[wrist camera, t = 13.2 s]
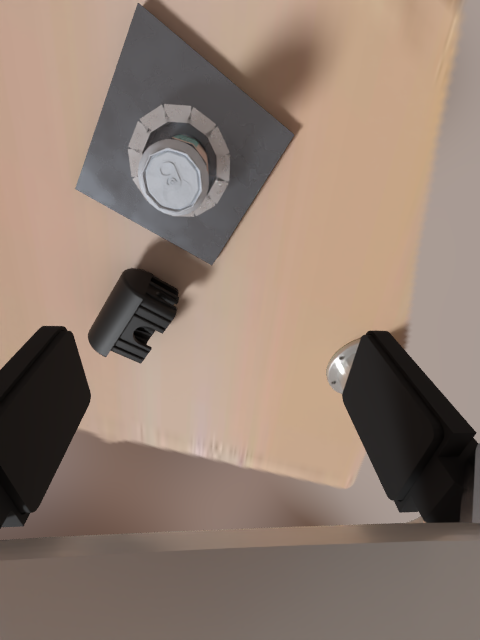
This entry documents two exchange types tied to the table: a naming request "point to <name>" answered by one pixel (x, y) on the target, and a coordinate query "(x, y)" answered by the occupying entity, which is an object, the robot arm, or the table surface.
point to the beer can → (175, 174)
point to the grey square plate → (172, 119)
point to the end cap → (133, 315)
